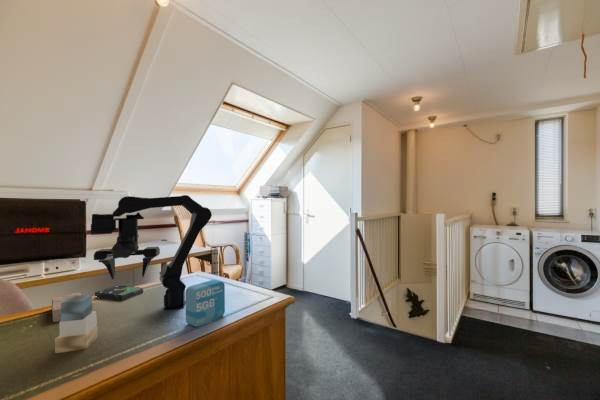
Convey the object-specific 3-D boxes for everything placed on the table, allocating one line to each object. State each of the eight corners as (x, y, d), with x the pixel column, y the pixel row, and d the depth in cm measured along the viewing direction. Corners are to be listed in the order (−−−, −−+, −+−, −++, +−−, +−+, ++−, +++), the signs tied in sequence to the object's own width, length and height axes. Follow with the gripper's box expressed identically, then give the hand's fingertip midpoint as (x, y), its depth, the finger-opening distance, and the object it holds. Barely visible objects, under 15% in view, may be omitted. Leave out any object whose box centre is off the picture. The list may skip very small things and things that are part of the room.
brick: (84, 316, 96) (84, 302, 96) (52, 323, 91) (52, 309, 91) (80, 303, 108) (80, 291, 108) (51, 309, 103) (51, 297, 103)
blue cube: (92, 312, 79) (91, 294, 79) (82, 319, 75) (82, 300, 75) (71, 314, 78) (71, 296, 78) (61, 321, 73) (60, 302, 73)
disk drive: (94, 299, 114) (123, 301, 110) (94, 292, 114) (123, 294, 110) (116, 291, 124) (144, 293, 120) (116, 285, 124) (143, 286, 120)
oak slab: (97, 337, 81) (97, 323, 81) (86, 349, 74) (86, 334, 74) (68, 341, 79) (68, 327, 79) (55, 354, 72) (54, 338, 72)
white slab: (96, 324, 80) (96, 310, 80) (85, 334, 74) (85, 319, 74) (72, 327, 79) (72, 313, 79) (59, 337, 73) (59, 322, 73)
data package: (193, 328, 85) (193, 289, 85) (185, 325, 88) (185, 287, 88) (225, 315, 95) (224, 280, 95) (216, 312, 98) (216, 278, 98)
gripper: (85, 236, 85) (85, 287, 85) (151, 234, 90) (152, 282, 90) (101, 232, 96) (101, 277, 96) (159, 230, 101) (160, 273, 101)
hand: (128, 278), depth 95 cm, fingers open, 9 cm apart
